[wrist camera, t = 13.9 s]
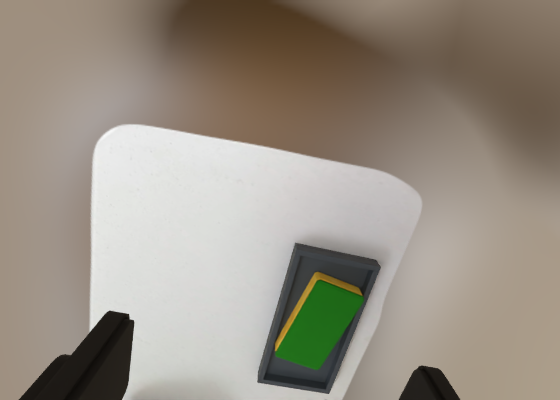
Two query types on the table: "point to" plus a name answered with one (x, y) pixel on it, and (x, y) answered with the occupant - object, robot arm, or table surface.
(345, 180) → the table surface
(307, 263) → the tray
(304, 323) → the dish sponge
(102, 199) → the table surface
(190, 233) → the table surface
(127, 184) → the table surface
